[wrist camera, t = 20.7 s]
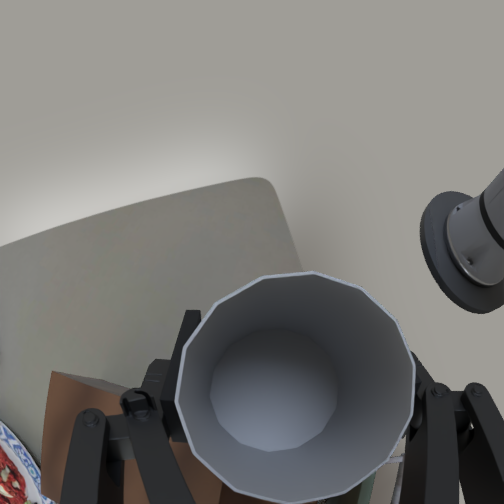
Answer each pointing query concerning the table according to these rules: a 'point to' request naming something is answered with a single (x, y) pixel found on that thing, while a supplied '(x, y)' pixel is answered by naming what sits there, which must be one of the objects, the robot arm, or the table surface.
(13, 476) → the ceramic plate
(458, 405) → the robot arm
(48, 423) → the cabinet
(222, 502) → the drawer
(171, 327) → the table surface
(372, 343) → the cup
